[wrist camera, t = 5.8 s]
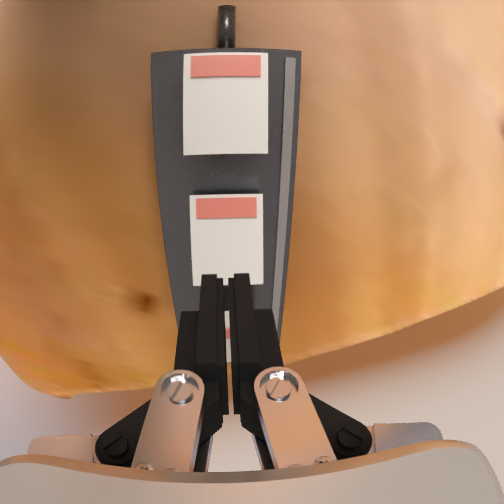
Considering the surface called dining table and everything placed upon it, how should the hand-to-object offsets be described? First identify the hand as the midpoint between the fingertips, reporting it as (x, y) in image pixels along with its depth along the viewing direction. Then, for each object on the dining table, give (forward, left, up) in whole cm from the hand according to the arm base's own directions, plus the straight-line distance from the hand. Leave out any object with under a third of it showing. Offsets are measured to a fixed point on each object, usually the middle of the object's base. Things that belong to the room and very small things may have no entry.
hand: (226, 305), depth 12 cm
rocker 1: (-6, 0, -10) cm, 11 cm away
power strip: (+1, 0, -15) cm, 15 cm away
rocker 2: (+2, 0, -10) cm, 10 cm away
